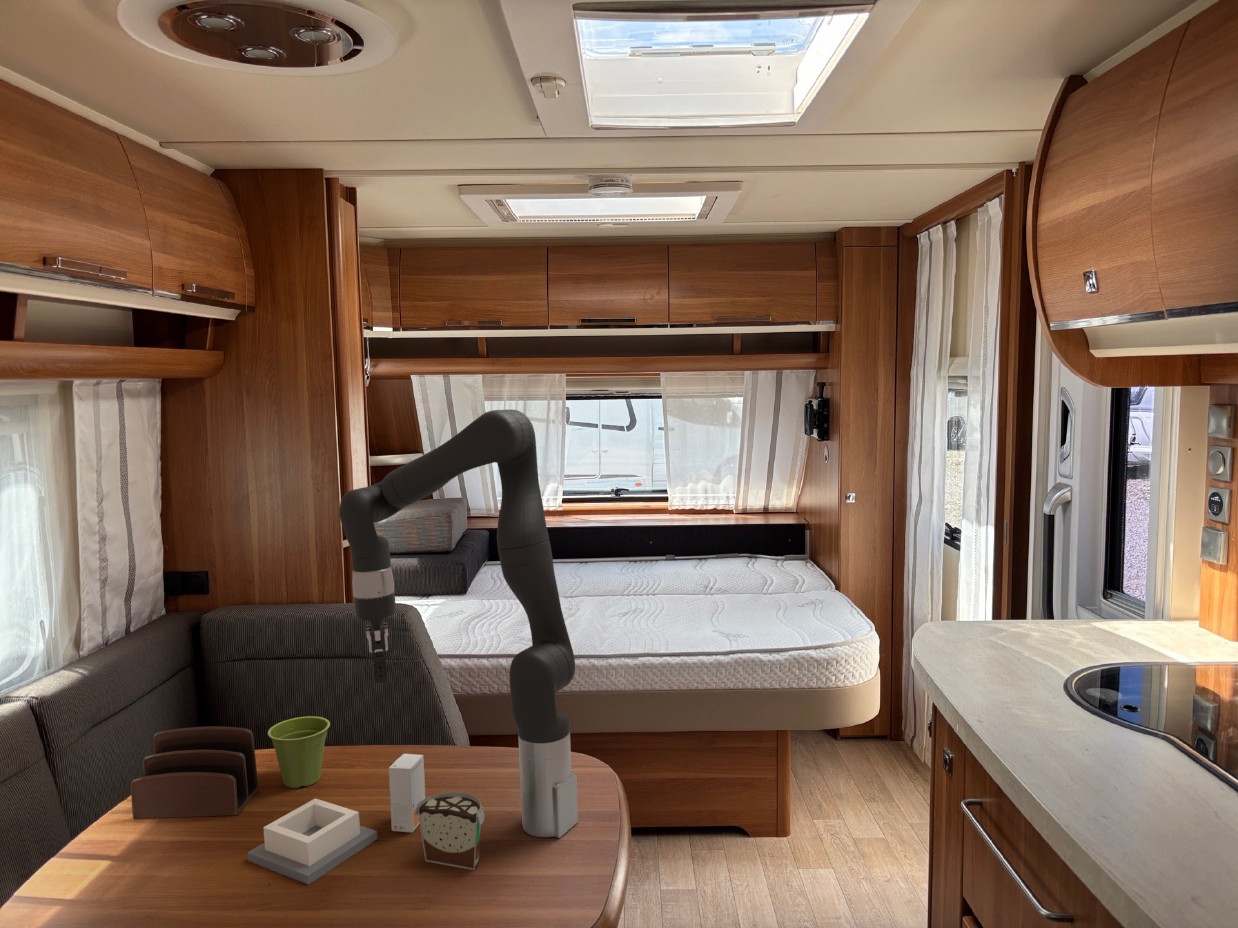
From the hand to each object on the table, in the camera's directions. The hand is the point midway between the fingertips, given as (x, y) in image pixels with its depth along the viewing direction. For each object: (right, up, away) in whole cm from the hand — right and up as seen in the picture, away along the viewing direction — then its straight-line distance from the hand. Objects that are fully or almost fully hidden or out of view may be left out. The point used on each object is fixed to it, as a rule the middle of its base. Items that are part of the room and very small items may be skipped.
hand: (380, 674), depth 161 cm
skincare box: (+7, -26, -7) cm, 28 cm away
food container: (+18, -26, -18) cm, 37 cm away
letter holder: (-36, -26, +2) cm, 45 cm away
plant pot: (-19, -25, +11) cm, 33 cm away
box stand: (-7, -27, -15) cm, 31 cm away
